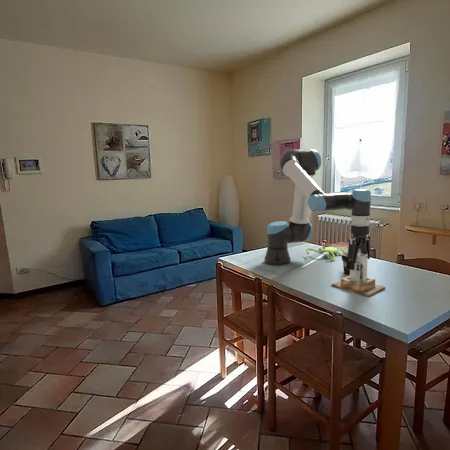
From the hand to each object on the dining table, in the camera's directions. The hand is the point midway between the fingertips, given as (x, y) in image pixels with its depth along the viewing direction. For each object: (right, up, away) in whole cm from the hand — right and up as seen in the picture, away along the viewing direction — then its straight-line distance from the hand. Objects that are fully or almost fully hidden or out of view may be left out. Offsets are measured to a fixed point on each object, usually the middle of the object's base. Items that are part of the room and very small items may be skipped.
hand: (358, 274), depth 148 cm
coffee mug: (+5, -3, +22) cm, 22 cm away
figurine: (+2, +3, +54) cm, 55 cm away
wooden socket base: (0, -6, +1) cm, 6 cm away
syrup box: (0, -5, +1) cm, 5 cm away
